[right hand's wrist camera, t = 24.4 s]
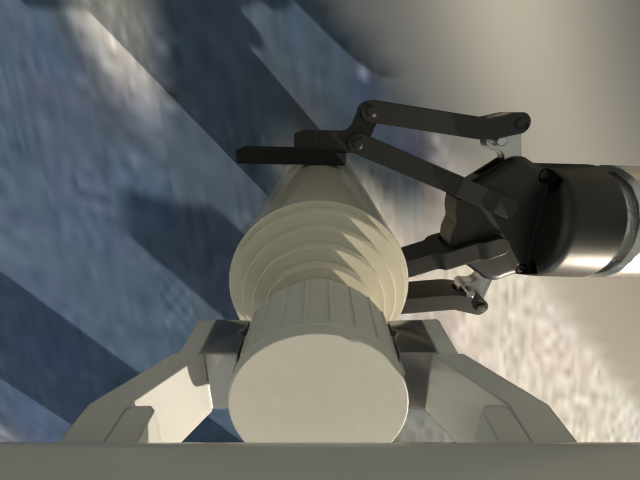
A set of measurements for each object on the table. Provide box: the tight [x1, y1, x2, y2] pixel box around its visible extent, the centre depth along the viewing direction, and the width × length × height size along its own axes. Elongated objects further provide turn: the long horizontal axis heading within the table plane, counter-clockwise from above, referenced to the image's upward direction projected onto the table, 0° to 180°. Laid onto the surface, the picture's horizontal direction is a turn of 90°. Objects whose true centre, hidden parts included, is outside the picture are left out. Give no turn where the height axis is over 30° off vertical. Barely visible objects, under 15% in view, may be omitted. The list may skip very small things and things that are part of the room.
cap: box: [228, 281, 409, 443], centre depth 9 cm, size 4×4×2 cm
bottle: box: [229, 161, 409, 321], centre depth 19 cm, size 7×7×22 cm
